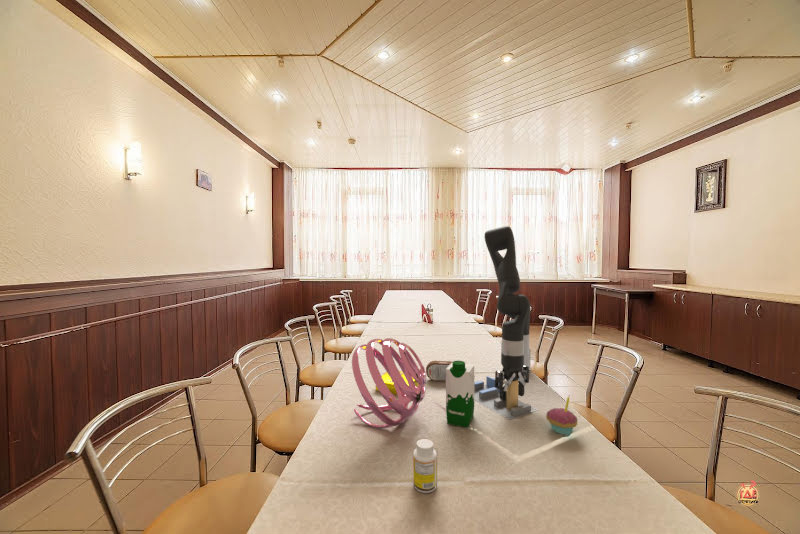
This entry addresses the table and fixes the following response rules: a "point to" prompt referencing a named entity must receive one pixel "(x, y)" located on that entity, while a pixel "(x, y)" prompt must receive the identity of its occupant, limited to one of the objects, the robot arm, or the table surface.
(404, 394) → the spiral basket
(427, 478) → the supplement bottle
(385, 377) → the element tile
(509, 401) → the yellow bottle
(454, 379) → the milk carton
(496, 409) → the slotted grey board
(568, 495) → the table surface
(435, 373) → the tin
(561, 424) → the cupcake
